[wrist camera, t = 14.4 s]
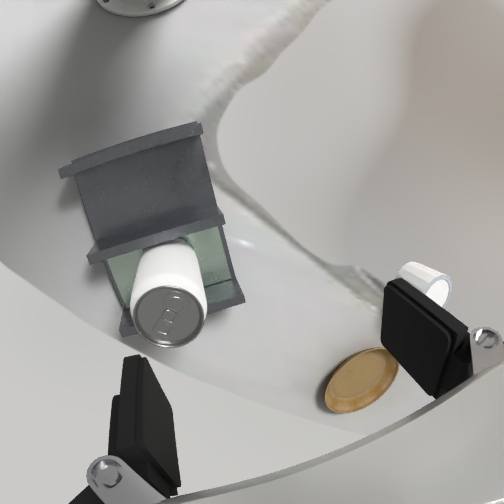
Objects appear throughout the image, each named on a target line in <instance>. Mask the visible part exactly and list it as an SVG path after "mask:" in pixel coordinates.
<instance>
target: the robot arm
mask: <svg viewBox="0 0 504 504" xmlns="http://www.w3.org/2000/svg"><path fill="white" fill-rule="evenodd" d="M107 1H109V2H107ZM181 1H183V0H97V2H98V3H99V4H100V5H101V6H102V7H103V8H104V9H106V10H107V11H109V12H112V13H114V14H117V15H121V16H129V17H139V16H148V15H152V14H157V13H159V12H162V11H165V10H167V9H169V8H171V7H173V6H175V5H177V4H178V3H180V2H181ZM106 2H107V3H106ZM152 7H154V8H153V9H150V8H152ZM467 331H468V327H467V326H465V325H464V324H463V323H462V322H460V321H459V320H458V319H456V318H455V317H454V316H453V315H451V314H450V313H449V312H447V311H446V310H445V309H444V308H442V307H441V306H440V305H438V304H437V303H436V302H434V301H433V300H432V299H430V298H429V297H428V296H426V295H425V294H424V293H422V292H421V291H419V290H418V289H417V288H415V287H414V286H413V285H411V284H410V283H408V282H407V281H406V280H404V279H403V278H397V279H394V280H392V281H389V282H388V283H387V286H386V287H385V288H384V301H383V315H382V327H381V343H382V345H383V346H384V347H385V348H386V349H387V351H388V352H389V353H390V354H391V355H392V356H393V357H394V358H395V359H396V360H397V361H398V362H399V363H400V365H401V366H402V367H403V368H404V369H405V370H406V371H407V372H408V373H409V374H410V375H411V377H412V378H413V379H414V380H415V381H416V382H417V383H418V384H419V385H420V387H421V388H422V389H423V390H424V391H425V392H426V393H427V394H428V395H429V396H433V397H434V398H435V399H436V400H434V401H433V402H431V403H429V404H428V405H426V406H424V407H423V408H421V409H419V410H417V411H416V412H414V413H412V414H410V415H409V416H407V417H405V418H403V419H401V420H399V421H397V422H395V423H393V424H392V425H390V426H388V427H386V428H384V429H382V430H380V431H378V432H376V433H374V434H371V435H369V436H367V437H365V438H363V439H361V440H359V441H356V442H354V443H352V444H349V445H347V446H345V447H343V448H340V449H338V450H335V451H333V452H330V453H328V454H325V455H323V456H320V457H317V458H315V459H312V460H310V461H307V462H304V463H301V464H298V465H296V466H292V467H289V468H286V469H283V470H280V471H277V472H274V473H270V474H267V475H263V476H260V477H256V478H253V479H249V480H245V481H242V482H238V483H234V484H230V485H226V486H221V487H218V488H213V489H208V490H203V491H199V492H195V493H190V494H185V495H181V496H177V497H174V498H170V496H175V495H178V493H177V487H181V480H180V472H179V465H178V458H177V450H176V441H175V431H174V422H173V412H172V408H171V405H170V403H169V401H168V399H167V397H166V396H165V394H164V392H163V390H162V388H161V386H160V384H159V382H158V380H157V378H156V377H155V374H154V372H153V370H152V368H151V366H150V364H149V362H148V360H147V358H146V357H143V358H142V357H141V356H140V355H139V354H138V355H133V356H129V357H125V358H124V361H123V369H122V379H121V388H120V395H115V396H114V397H113V400H112V409H111V419H110V430H109V444H108V445H109V446H108V455H106V456H103V457H99V458H98V459H96V460H94V461H93V463H91V465H90V466H89V468H88V470H87V475H86V476H87V482H88V484H89V485H88V486H87V487H86V488H85V489H84V490H83V491H82V492H81V493H80V494H79V495H77V496H76V497H75V499H73V500H72V501H71V502H70V503H69V504H504V342H503V340H502V337H501V335H500V334H499V333H498V332H497V331H495V330H494V329H492V328H489V327H478V328H475V329H474V330H473V331H472V332H471V334H470V333H468V332H467Z"/></svg>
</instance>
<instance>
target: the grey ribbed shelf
mask: <svg viewBox="0 0 504 504" xmlns="http://www.w3.org/2000/svg"><path fill="white" fill-rule="evenodd" d="M201 134H203V129H202V125H201V123H198V124H197V121H196V122H192V123H188V124H184V125H180V126H176V127H173V128H169V129H166V130H162V131H159V132H155V133H152V134H148V135H145V136H142V137H139V138H135V139H132V140H129V141H126V142H123V143H120V144H117V145H114V146H111V147H108V148H106V149H103V150H100V151H97V152H95V153H92V154H89V155H86V156H84V157H81V158H79V159H76V160H74V161H71V162H72V164H70V165H68V166H65V167H63V168H60V169H58V170H59V174H60V177H61V179H63V178H66V177H69V176H72V175H75V177H76V180H77V184H78V187H79V191H80V194H81V197H82V200H83V204H84V207H85V210H86V213H87V216H88V219H89V222H90V225H91V228H92V231H93V234H94V237H95V239H96V243H95V244H94V246H93V247H92V248H91V250H90V251H89V253H88V254H87V255H86V256H87V258H88V261H89V263H90V265H91V264H94V263H97V262H100V261H104V264H105V266H106V269H107V271H108V274H109V276H110V279H111V281H112V284H113V286H114V288H115V291H116V293H117V295H118V298H119V300H120V302H121V305H122V307H123V309H124V310H123V315H122V319H121V323H120V327H119V331H120V333H121V335H122V337H126V336H129V335H133V334H137V333H138V331H137V330H136V328H135V325H134V322H133V318H132V316H131V311H130V300H131V294H132V290H133V285H134V281H135V277H136V273H137V269H138V265H139V262H140V258H141V255H142V253H143V251H144V249H145V248H146V247H149V246H152V245H155V244H159V243H162V242H165V241H169V240H172V239H175V238H179V239H182V240H184V241H186V242H187V243H188V244H189V245H190V246H191V247H192V249H193V250H194V252H195V254H196V257H197V260H198V264H199V269H200V273H201V278H202V282H203V287H204V291H205V296H206V301H207V313H206V314H209V313H212V312H215V311H219V310H222V309H225V308H229V307H232V306H235V305H239V304H242V303H245V298H244V294H243V292H242V290H241V288H240V286H239V284H238V281H237V279H236V277H235V273H234V270H233V266H232V262H231V258H230V254H229V250H228V247H227V243H226V239H225V235H224V231H223V227H222V225H224V224H225V220H224V216H223V213H222V212H221V210H220V209H219V207H218V206H217V203H216V199H215V195H214V191H213V187H212V183H211V179H210V175H209V171H208V167H207V163H206V159H205V155H204V151H203V146H202V142H201V138H200V135H201Z"/></svg>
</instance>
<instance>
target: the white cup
mask: <svg viewBox="0 0 504 504" xmlns="http://www.w3.org/2000/svg"><path fill="white" fill-rule="evenodd" d="M397 278H403V279H404V280H406V281H407V282H408V283H410V284H411V285H413V286H414V287H415V288H417V289H418V290H419V291H421V292H422V293H424V294H425V295H426V296H428V297H429V298H430V299H432V300H433V301H434V302H436V303H437V304H438V305H440V306H441V307H442V308H444V306H445V305H446V303H447V302H448V300H449V297H450V295H451V289H452V284H451V279H450V278H449V277H448V276H447V275H445V274H443V273H440V272H438V271H436V270H433V269H431V268H429V267H426V266H424V265H422V264H419V263H417V262H409V263H407V264H405V265H404V266H403V267H402V268H401V269H400V271H399V272H398V274H397V277H396V279H397Z"/></svg>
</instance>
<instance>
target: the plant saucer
mask: <svg viewBox="0 0 504 504" xmlns="http://www.w3.org/2000/svg"><path fill="white" fill-rule="evenodd" d="M398 370H399V362H398V361H397V360H396V359H395V358H394V357H393V356H392V355H391V354H390V353H389V352H388V351H387V349H386V348H371V349H366V350H363V351H361V352H358V353H356V354H354V355H353V356H351V357H349V358H348V359H347V360H345V361H344V362H343V363H342V364H341V365H340V366H339V367H338V368H337V370H336V371H335V372H334V374H333V375H332V377H331V379H330V381H329V383H328V385H327V388H326V392H325V403H326V405H327V407H328V408H329V409H330V410H332V411H334V412H336V413H351V412H355V411H358V410H361V409H363V408H365V407H367V406H369V405H370V404H372V403H373V402H375V401H376V400H378V399H379V398H380V397H381V396H382V395H383V394H384V393H385V392H386V391H387V390H388V389H389V387H390V386H391V385H392V383H393V381H394V380H395V378H396V375H397V373H398Z"/></svg>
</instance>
